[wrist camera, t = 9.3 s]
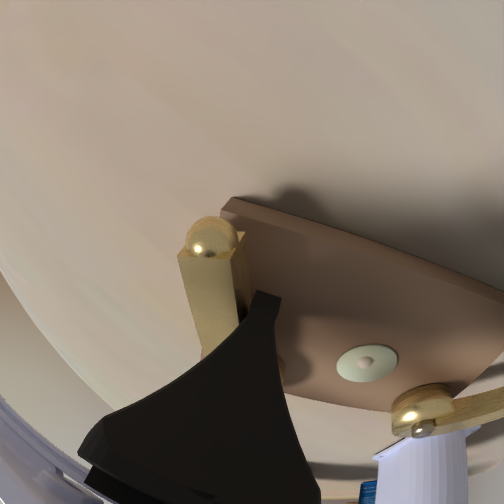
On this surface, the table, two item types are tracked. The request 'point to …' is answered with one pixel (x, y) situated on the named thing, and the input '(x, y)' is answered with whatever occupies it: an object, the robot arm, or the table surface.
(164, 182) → the table surface
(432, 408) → the lever
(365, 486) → the blue plastic bottle
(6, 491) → the robot arm
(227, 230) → the lever
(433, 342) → the base
